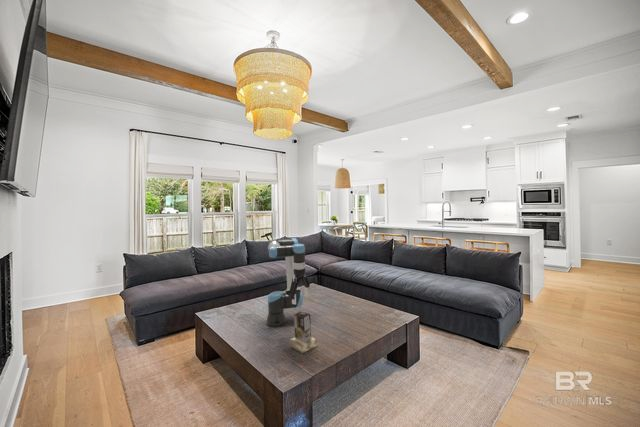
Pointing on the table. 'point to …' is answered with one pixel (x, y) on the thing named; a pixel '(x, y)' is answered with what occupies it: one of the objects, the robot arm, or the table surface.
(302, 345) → the birch block
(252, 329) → the table surface
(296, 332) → the coffee box
